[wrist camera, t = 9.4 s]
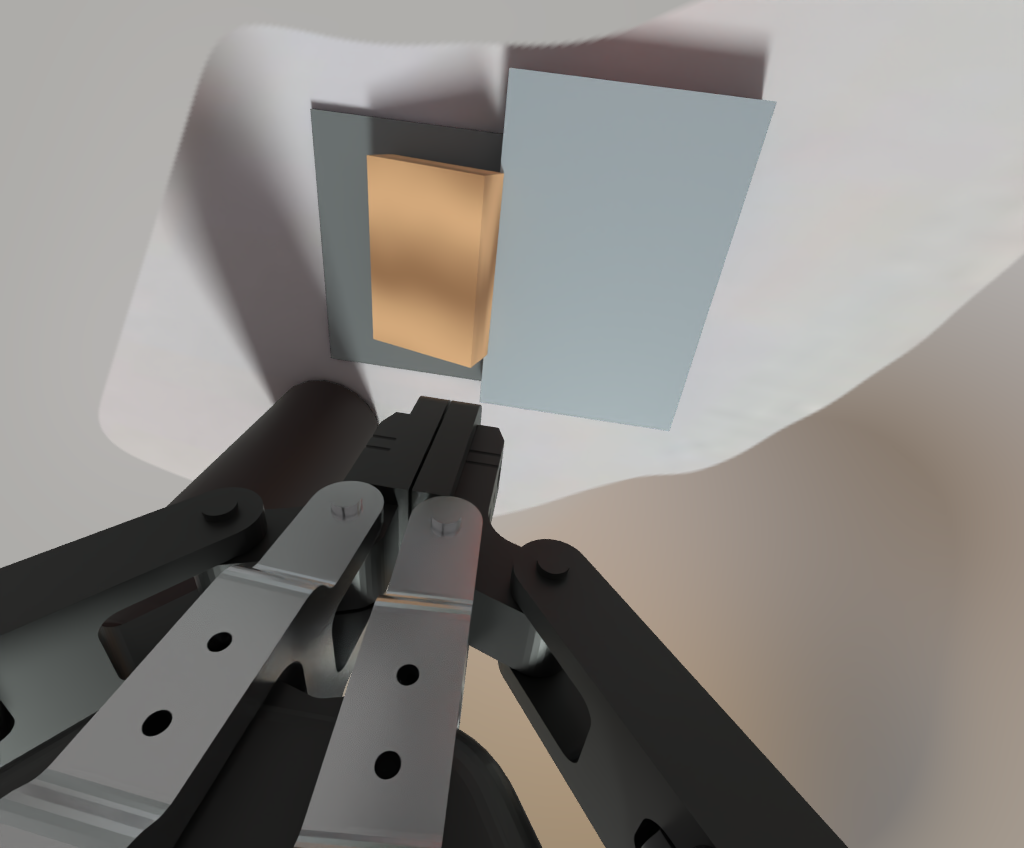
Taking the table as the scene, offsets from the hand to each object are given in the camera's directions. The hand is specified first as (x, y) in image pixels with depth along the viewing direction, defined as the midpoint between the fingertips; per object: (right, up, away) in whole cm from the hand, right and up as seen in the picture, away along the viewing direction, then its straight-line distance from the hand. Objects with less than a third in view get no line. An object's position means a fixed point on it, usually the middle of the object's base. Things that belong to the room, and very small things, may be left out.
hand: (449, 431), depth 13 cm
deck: (+6, +8, +14) cm, 18 cm away
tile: (-2, +8, +13) cm, 15 cm away
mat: (-4, +9, +15) cm, 18 cm away
